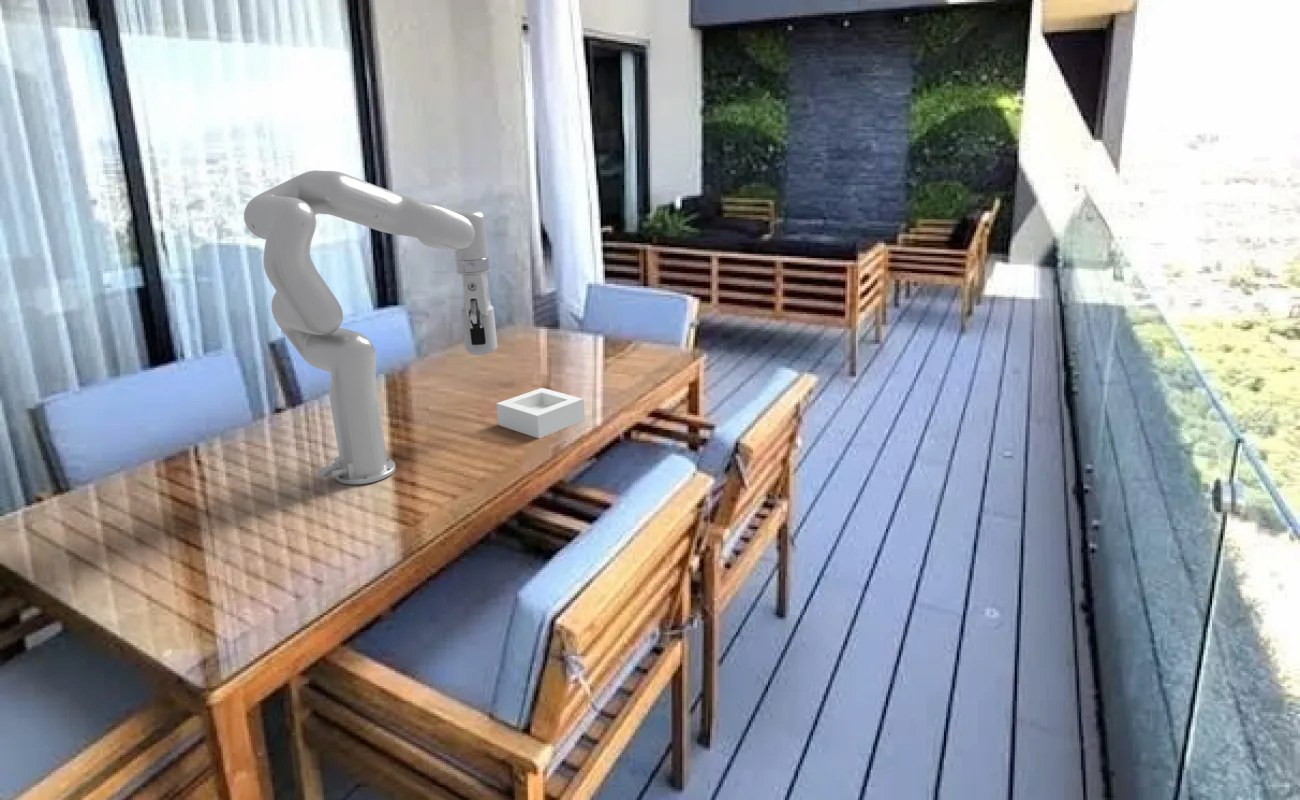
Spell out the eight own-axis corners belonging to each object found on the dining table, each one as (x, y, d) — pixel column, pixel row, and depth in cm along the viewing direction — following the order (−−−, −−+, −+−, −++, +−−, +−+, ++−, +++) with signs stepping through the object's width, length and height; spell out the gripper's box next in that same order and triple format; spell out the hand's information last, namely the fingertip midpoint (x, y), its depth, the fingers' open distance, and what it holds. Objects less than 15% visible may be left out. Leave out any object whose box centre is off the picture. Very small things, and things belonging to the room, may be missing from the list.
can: (491, 356, 196) (486, 305, 192) (460, 355, 197) (455, 305, 193) (502, 347, 203) (497, 298, 199) (472, 346, 204) (467, 298, 200)
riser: (539, 439, 197) (537, 415, 195) (498, 426, 207) (496, 403, 205) (584, 421, 208) (583, 398, 206) (544, 409, 217) (542, 387, 216)
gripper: (485, 271, 185) (493, 348, 191) (492, 258, 201) (499, 329, 207) (451, 273, 185) (460, 350, 190) (461, 259, 201) (469, 331, 207)
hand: (480, 339), depth 199 cm, fingers closed on can, 7 cm apart
